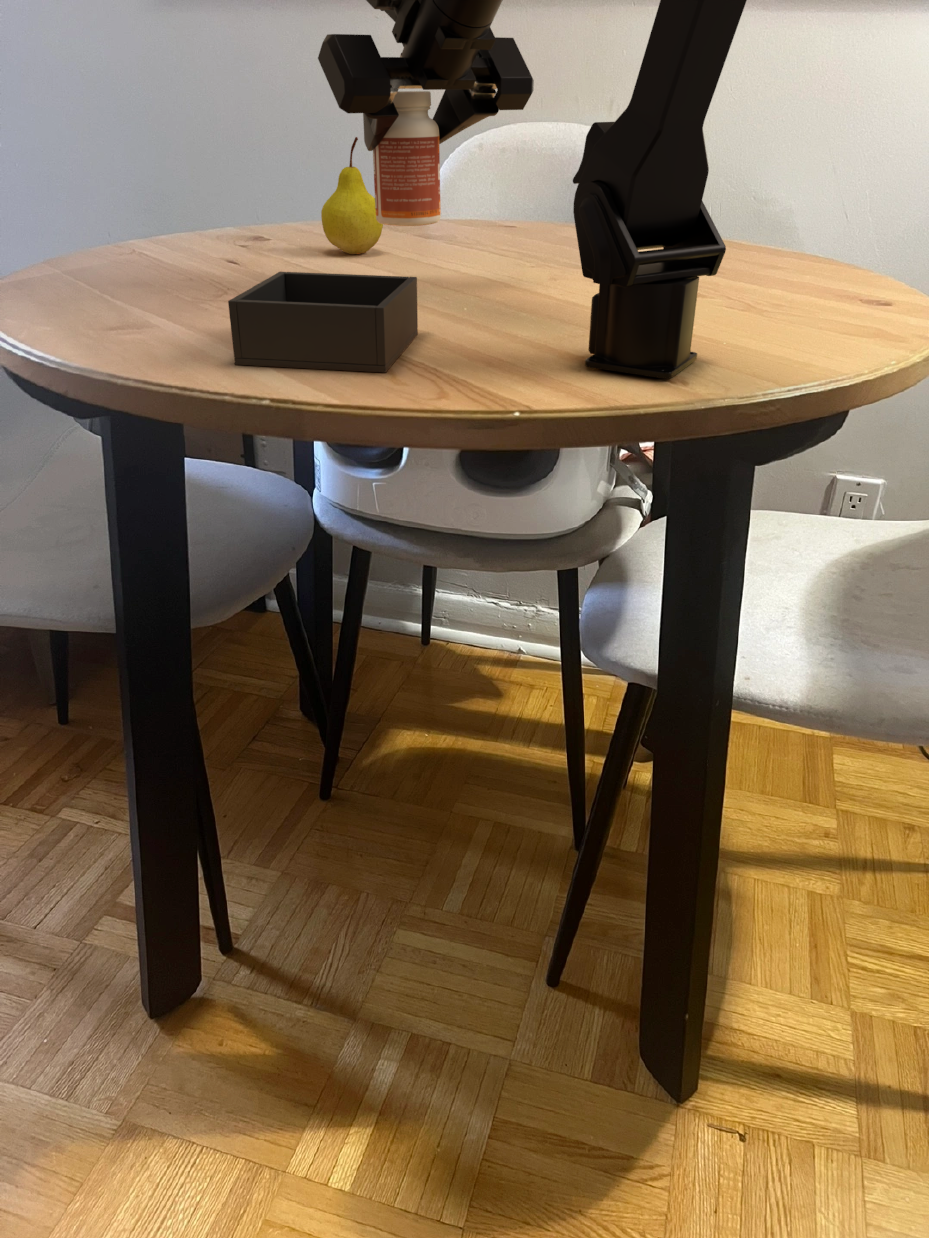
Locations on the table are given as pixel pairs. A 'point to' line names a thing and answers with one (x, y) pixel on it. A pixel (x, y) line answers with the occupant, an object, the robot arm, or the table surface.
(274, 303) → the black open box
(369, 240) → the fruit
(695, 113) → the robot arm
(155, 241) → the table surface
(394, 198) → the pill bottle
